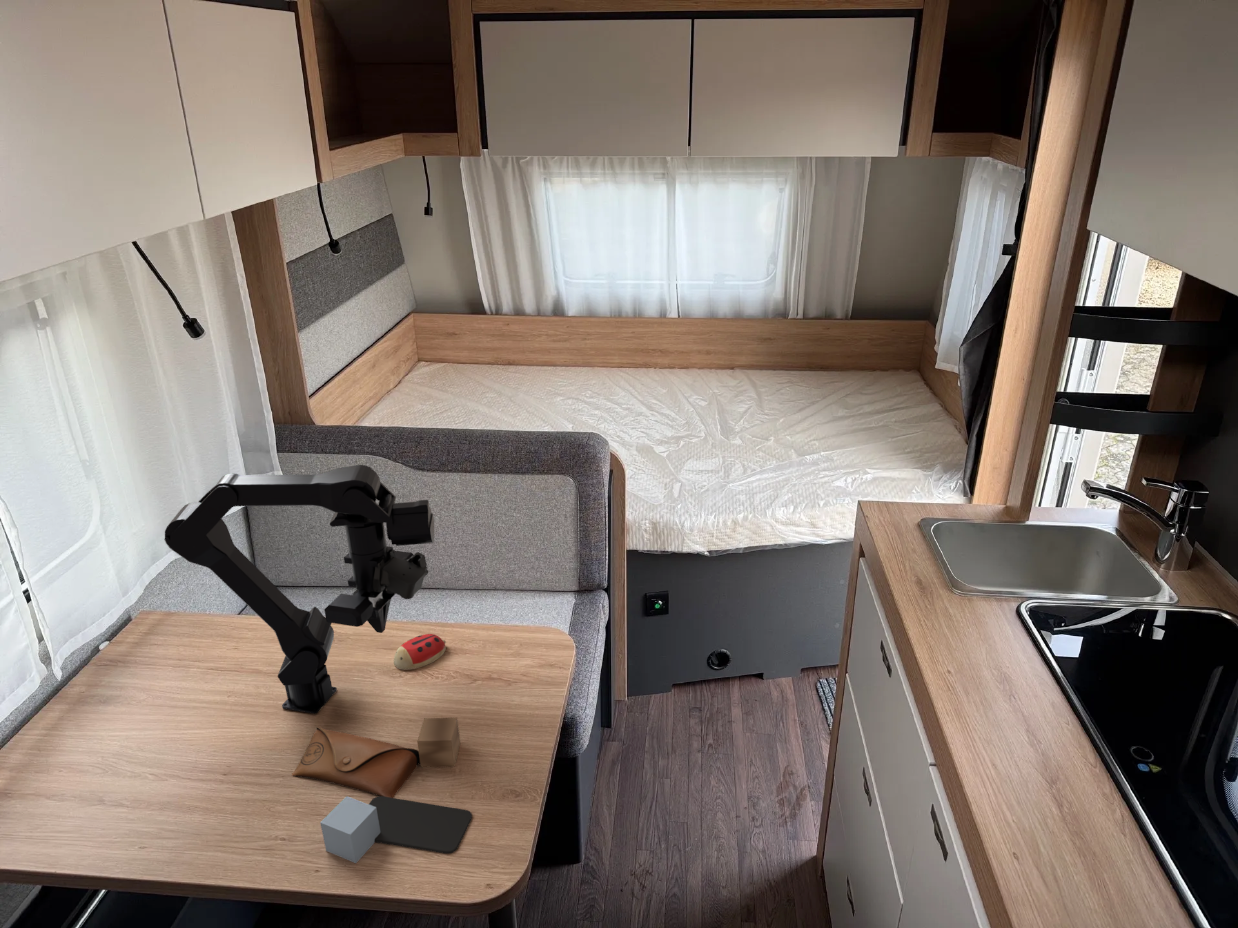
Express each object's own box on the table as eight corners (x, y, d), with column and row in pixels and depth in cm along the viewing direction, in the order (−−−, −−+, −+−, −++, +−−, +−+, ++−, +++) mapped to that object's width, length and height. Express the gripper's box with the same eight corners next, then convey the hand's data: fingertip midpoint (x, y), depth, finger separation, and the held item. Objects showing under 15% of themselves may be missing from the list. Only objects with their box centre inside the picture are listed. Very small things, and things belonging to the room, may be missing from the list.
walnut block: (420, 767, 126) (417, 740, 124) (427, 744, 130) (424, 718, 128) (454, 766, 126) (451, 740, 124) (460, 743, 130) (457, 717, 128)
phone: (453, 853, 110) (348, 834, 113) (454, 857, 111) (349, 839, 114) (474, 810, 117) (374, 794, 120) (475, 815, 117) (375, 798, 120)
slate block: (326, 851, 112) (320, 822, 110) (352, 824, 116) (346, 795, 114) (355, 863, 110) (350, 834, 108) (381, 835, 114) (376, 807, 112)
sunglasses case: (285, 776, 124) (293, 730, 125) (314, 767, 131) (321, 723, 132) (393, 801, 119) (401, 753, 120) (418, 790, 126) (425, 744, 127)
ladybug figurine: (386, 661, 150) (384, 644, 149) (434, 638, 157) (432, 622, 155) (406, 678, 146) (403, 661, 144) (455, 654, 152) (453, 637, 151)
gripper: (383, 582, 121) (396, 673, 127) (442, 524, 138) (451, 607, 144) (315, 573, 124) (331, 662, 130) (380, 518, 140) (392, 599, 147)
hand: (380, 631), depth 137 cm, fingers closed
